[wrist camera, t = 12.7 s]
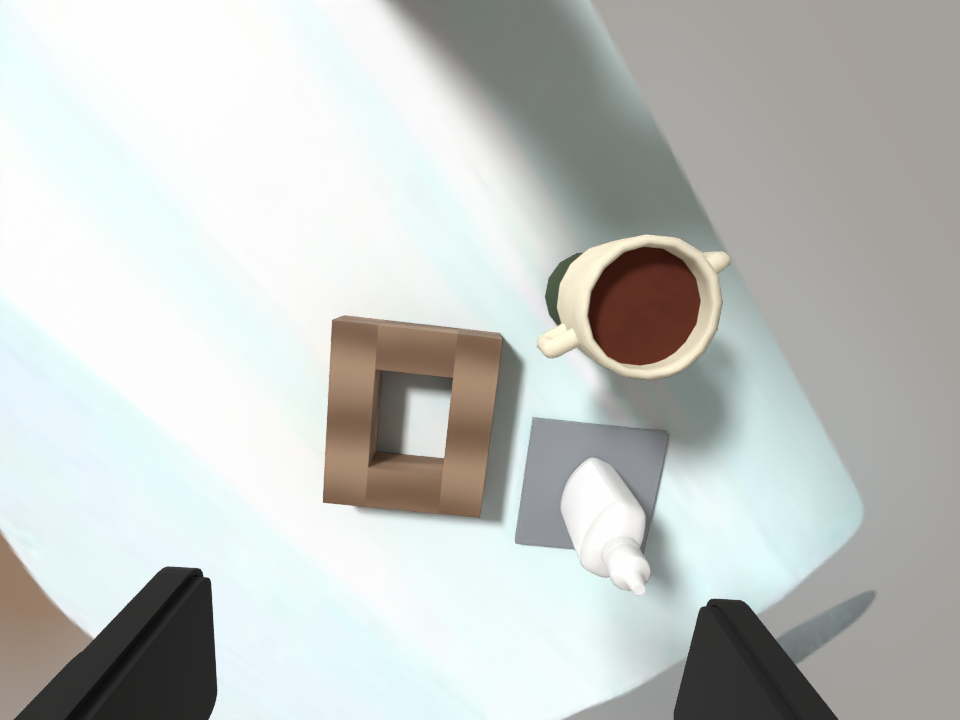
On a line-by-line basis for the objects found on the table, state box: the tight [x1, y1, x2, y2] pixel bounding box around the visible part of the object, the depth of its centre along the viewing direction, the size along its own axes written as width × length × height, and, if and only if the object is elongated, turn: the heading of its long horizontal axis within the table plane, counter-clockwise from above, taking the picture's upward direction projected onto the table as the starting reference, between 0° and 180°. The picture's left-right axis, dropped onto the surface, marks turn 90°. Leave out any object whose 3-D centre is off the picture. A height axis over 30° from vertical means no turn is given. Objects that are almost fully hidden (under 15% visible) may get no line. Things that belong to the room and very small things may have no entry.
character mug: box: [537, 235, 731, 380], centre depth 28 cm, size 11×7×13 cm, turn 118°
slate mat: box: [515, 417, 669, 554], centre depth 37 cm, size 11×11×1 cm
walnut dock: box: [323, 316, 503, 518], centre depth 34 cm, size 14×12×3 cm
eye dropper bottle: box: [560, 457, 651, 595], centre depth 31 cm, size 4×6×12 cm
